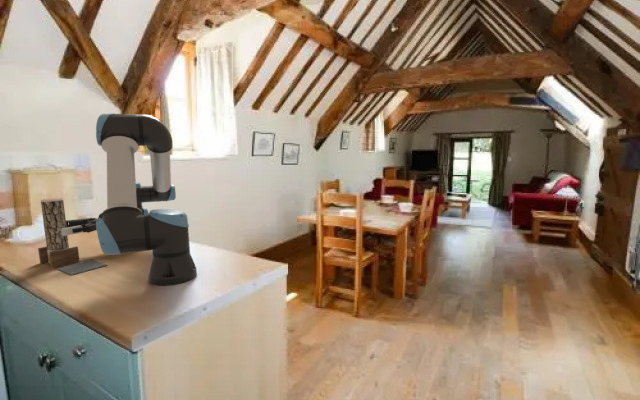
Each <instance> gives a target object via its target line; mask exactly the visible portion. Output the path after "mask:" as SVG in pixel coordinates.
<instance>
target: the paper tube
mask: <svg viewBox="0 0 640 400" xmlns="http://www.w3.org/2000/svg"><path fill="white" fill-rule="evenodd" d="M40 204H41V206H40V207H41V212H42V220H43V221H42V222H43V229H44V236H45V245H46V246H47V253H48V260H49V262H48V264H49V265H51V263H50V255H49V252H53V251H57V250H62V249H67V248H70V245H69V235H66V236H62V233H61V229H62V228H67V227H66V211H65V203H64V197H50V198H42V199H40Z"/></svg>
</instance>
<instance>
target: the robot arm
mask: <svg viewBox="0 0 640 400" xmlns="http://www.w3.org/2000/svg"><path fill="white" fill-rule="evenodd" d="M95 131H96V132H95V135H96V136H95V138H96V139H95V140H96V142H97V145H98V146H100V147H101V148H102V150H103V151H104V152H105V153H106V197H107V198H106V202H107V203H106V204H107V208H105V209H104V210H103V211H102V213H100V214H99V215H98V218H96V217H89V218H82V219H81V218H79V219H68V220H66V227H67V228H62V229H61V233H62V236H66V235H68V236H70V235H75V234H80V233H92V232H95V231H96V233H97V234H96V235H97V239H98V243H99V246H100V249H101V251H102V253H103V254H105V255H108V256H110V255H112V256H113V255H123V254H129V253H130V254H131V253H140V252H147V251H148V252H149V251H152V261H151V264H150V268H149V272H148V282H149V283H151V284H152V285H157V286H171V285H178V284H182V283H185V282H188V281H191V280H192V279H194V278H196V277H197V276H198V274H197V273H198V272H197V271H198V270H197V266H196V264H195V261H194V260H193V257H192V255H191V254H192V253H191V250H190V247H191V246H190V236H189V227H190V224H189V222H188V220H189V218H188V215H187V213H186V212H184V211H181V210H177V209H170V208H169V209H167V208H157V209H150V210H148V209H147V208H146V206H145V207H144V206H143V203H156V202H157V203H159V202H168V201H171V202H172V201H175V200H176V196H177V195H176V186H175V184H172V181H171V180H172V179H171V150H172V149H173V146H174V145H173V137H172V135H171V132H170V130H169V129H168V127H167V126H166V125H165V124H164V123H163V122H162V121H161V120H159V118H157V117H154V116H152V115H149V114H145V113H144V114H134V113H133V114H131V113H113V112H110V113H102V114H100V115H99V116H98V117H97V121H96V126H95ZM144 146H146V148H147V150H149V156H150V157H149V158H150V168H151V170H150V172H151V181H152V182H151V183H152V185H141V183H140V182H138V181H136V166H135V165H136V164H135V154H136V153H137V152H138V150H139V147H144Z"/></svg>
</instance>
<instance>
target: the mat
mask: <svg viewBox="0 0 640 400" xmlns="http://www.w3.org/2000/svg"><path fill="white" fill-rule="evenodd" d="M107 266H108V264H107V263H104V262H102V261H98V260H95V259H88V260H83V261H80V262H76V263H72V264H68V265H64V266H60V267H56V270H58V271H60V272H63V273H65V274H67V275H70V276H75V275H78V274H81V273H85V272H89V271H93V270H97V269H100V268H104V267H107Z"/></svg>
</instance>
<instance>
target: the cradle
mask: <svg viewBox="0 0 640 400" xmlns="http://www.w3.org/2000/svg"><path fill="white" fill-rule="evenodd" d="M37 251H38V257H39V264H41V265H42V264H46V263H49V260H48V253H47V245H46V246H41V247H38V248H37ZM49 255H50V263H51V264H50V263H49V264H50V267H51V269H55V268H56V269H57V268H59V267H63V266H67V265H71V264H75V263H79V262H81V261H80V254H79V246H72V247H69V248H67V249H62V250H57V251H53V252H49Z"/></svg>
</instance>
